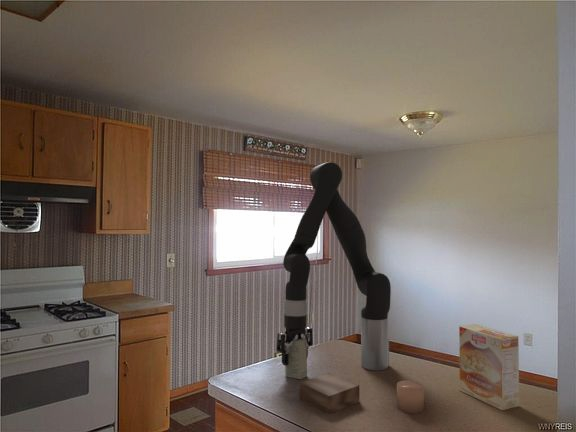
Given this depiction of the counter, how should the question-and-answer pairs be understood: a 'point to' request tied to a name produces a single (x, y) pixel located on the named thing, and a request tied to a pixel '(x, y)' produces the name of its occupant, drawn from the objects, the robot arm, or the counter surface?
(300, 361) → the skincare box
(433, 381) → the counter surface
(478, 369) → the coffeecake box
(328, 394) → the walnut block
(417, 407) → the pink rounded knob
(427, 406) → the counter surface
